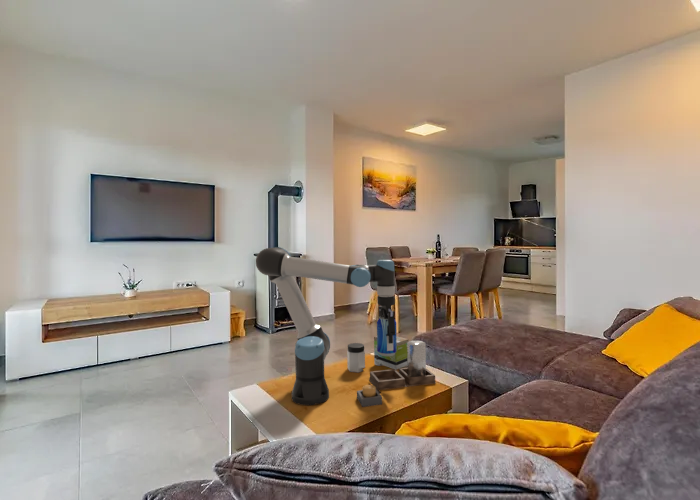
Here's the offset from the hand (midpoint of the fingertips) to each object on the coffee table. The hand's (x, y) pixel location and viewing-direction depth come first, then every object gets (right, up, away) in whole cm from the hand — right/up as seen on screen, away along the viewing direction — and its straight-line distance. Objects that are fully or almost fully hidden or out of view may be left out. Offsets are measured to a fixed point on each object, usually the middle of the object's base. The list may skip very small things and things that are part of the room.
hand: (386, 347), depth 156 cm
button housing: (-8, -17, -14) cm, 24 cm away
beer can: (0, -3, 0) cm, 3 cm away
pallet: (+7, -17, +2) cm, 18 cm away
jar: (-13, -17, +20) cm, 29 cm away
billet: (+14, -15, +4) cm, 21 cm away
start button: (-8, -15, -15) cm, 22 cm away
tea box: (+5, -16, +24) cm, 29 cm away
